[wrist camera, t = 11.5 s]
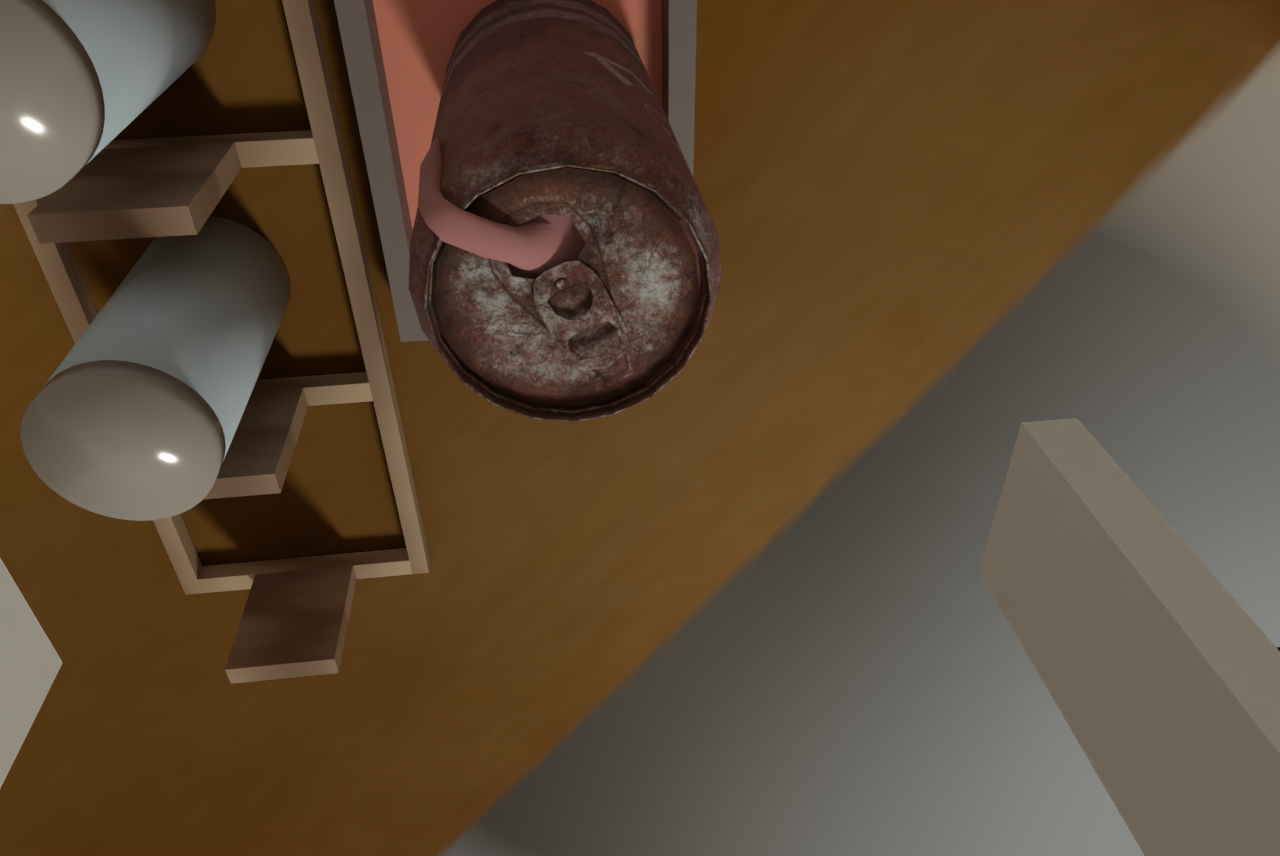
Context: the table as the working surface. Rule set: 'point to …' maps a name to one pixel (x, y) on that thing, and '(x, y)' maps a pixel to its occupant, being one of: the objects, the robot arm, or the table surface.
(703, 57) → the table surface
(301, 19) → the caddy
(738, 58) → the table surface
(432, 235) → the can
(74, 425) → the cylinder
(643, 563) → the table surface
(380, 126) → the tray
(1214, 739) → the robot arm
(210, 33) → the shaker
